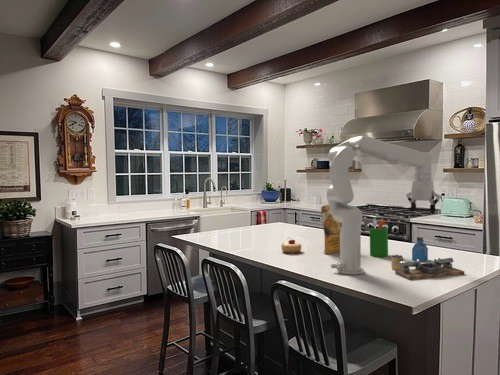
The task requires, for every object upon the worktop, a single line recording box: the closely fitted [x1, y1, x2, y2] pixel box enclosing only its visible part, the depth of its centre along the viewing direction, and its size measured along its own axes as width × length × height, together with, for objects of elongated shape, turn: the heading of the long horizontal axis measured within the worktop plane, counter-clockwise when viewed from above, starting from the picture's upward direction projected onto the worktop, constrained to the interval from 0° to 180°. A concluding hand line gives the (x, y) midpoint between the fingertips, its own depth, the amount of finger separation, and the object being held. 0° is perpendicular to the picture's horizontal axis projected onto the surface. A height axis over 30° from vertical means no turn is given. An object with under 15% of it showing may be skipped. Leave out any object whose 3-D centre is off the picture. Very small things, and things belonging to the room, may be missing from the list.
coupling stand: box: [394, 262, 465, 281], centre depth 177 cm, size 29×10×4 cm, turn 104°
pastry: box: [280, 237, 302, 254], centre depth 230 cm, size 12×12×9 cm
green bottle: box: [369, 220, 389, 258], centre depth 217 cm, size 10×9×20 cm
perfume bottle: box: [411, 236, 429, 263], centre depth 205 cm, size 6×6×12 cm
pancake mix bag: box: [320, 204, 342, 255], centre depth 228 cm, size 7×19×28 cm, turn 132°
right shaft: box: [433, 257, 454, 269], centre depth 181 cm, size 9×4×7 cm, turn 114°
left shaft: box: [399, 260, 422, 273], centre depth 177 cm, size 9×4×7 cm, turn 94°
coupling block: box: [390, 254, 404, 271], centre depth 188 cm, size 5×5×7 cm
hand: (422, 211), depth 192 cm, fingers open, 9 cm apart
